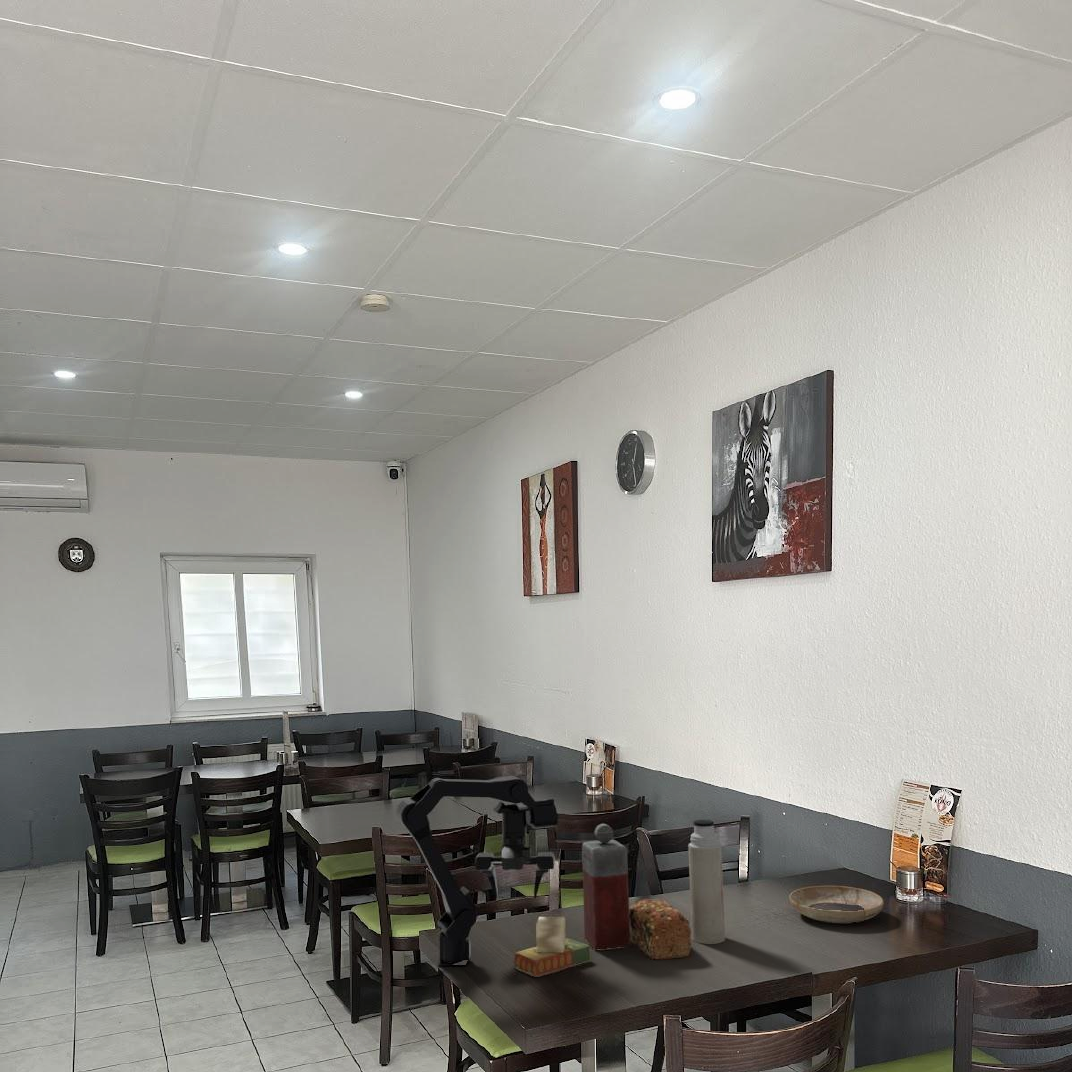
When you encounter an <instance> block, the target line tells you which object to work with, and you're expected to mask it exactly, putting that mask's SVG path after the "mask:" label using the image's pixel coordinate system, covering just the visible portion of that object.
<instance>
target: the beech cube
mask: <svg viewBox="0 0 1072 1072" xmlns="http://www.w3.org/2000/svg"><path fill="white" fill-rule="evenodd" d="M535 936H536V938H535V939H536V946H537V952H554V953H563V952H564V949H565V945H566V938H567V937H566V936H567V935H566V916H539V917H538V919H537V921H536V923H535Z"/></svg>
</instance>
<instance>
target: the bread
mask: <svg viewBox="0 0 1072 1072" xmlns="http://www.w3.org/2000/svg"><path fill="white" fill-rule="evenodd" d="M629 922H630V938H631V939H630V941H632V942H633V943H634V945H635V946H637V947H638V948H639V949H640V950H641V951H642V950H643V953H644V954H645V955H646V956H647V955H648V956H649V957H648V956H647V957H648V958H650V959H653V960H668V959H680V958H681V959H682V958H687V957H688V956H689V955H690V951H691V950H690V949H691V947H692V943H691V942H692V927H690V920H689V919H688V918H687V916H686V915H685V914H683V913H682V912H681V911H680V910H678V909H677V908H676V907H674V906H673V905H671V904H670V903H668V902H666V901H665V900H663V899H654V898H651V899H649V898H648V899H647V898H644V899H640V900H639V899H638V900H636V901H635V902H634V903H632V905H629Z"/></svg>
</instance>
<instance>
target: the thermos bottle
mask: <svg viewBox="0 0 1072 1072" xmlns="http://www.w3.org/2000/svg"><path fill="white" fill-rule="evenodd" d="M693 825H694V827H693V831H694V832H692V833H691V835H690V843H688V866H689V867H688V869H689V871H688V872H689V893H690V895H689V896H690V919H691V920H690V921H691V940H693V941H694V942H696V943H699V944H704V945H705V944H706V945H716V944H720V943H723V942H725V941H726V928H725V927H726V926H725V925H726V923H725V903H724V902H725V901H724V880H723V879H724V876H723V857H722V855H723V854H722V853H723V851H722V844H721V843H719V839H720V838H719V834H717V833H716V832H715V827H714V821H713V820H710V819H696V820H694V821H693Z"/></svg>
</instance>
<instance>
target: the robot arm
mask: <svg viewBox="0 0 1072 1072" xmlns="http://www.w3.org/2000/svg"><path fill="white" fill-rule="evenodd" d="M445 797H446V798H447V797H453V798H454V797H455V798H456V797H457V798H462V797H463V798H491V799H494V800H498V801H499V802H498V804H497V805H496V806H495V807H493V812H494V813H496V814H499V815H500V814H501V817H502V818H501V820H502V825H501V827H502V846H501V850H500V851H501V852H500V853H501V856H494V855H495V854H494V852H479V853H478V854H477V855H476V857H475V858H474V870H477V871H480V873H481V874H484V875H485V876H486V877H487V879H488V882H489V884H490V886H491V889H492V892H493V896H494V898H495V899H498V897H499V896H498V894H499V893H498V892H499V891H498V881H497V871H496V866H501V867H502V869H503V870H504V871H508V870H516V871H519V870H522V869H523V868H524V866H526V865H527V866H528V865H529V866H530V865H531V866H533V865H534V866H536V870H535V879H534V888H533V889H534V890H533V899H537V895H538V892H539V891H538V890H539V887H540V884H541V881H542V878H543V876H544V874H547V873H549V871H550V870H554V868H555V865H556V861H555V860H556V859H555V853H554V852H552V851H540V852H539V851H538V852H537V855H536V856H532V848H531V846H527V825H528V826H530V827H531V829H533V830H535V829H536V830H537V829H546V828H556V827H557V826H558V823H559V814H558V811H557V807H556V805H555V799H553V798H552V797H548V798H547V797H546V798H542V799H534V798H533V797H532V795H531V794H530V793H529V787H528V784H527V783H526V781H525V780H523V779H522V778H519V777H516V776H514V775H506V776H499V777H495V778H492V779H486V780H485V779H455V778H454V779H453V778H451V779H450V778H440V777H435V778H433V779H431V780H430V781H429V782H428V783H427V784H426V785H425V786H424V787H422V788H420V789H418V791H417V792H414V794H413V795H412V796H411V797H409V798H407V799H404V800H402V801H401V802H400V803H399V804H398V805H397V808H396V811H395V812H396V817H397V820H398V821H399V822H400V823H401V825H402V826H403V827H404V828H405V830H406V831H407V833H408V834H409V835H410V836H411V837H412V839H414V841H415V843H416V845H417V847H418V849H419V850H420V853H421V855H422V857H423V859H424V861H425V862H426V864H427V867H428V869H429V870H430V872H431V874H432V877H433V878H434V880H435V882H436V884H437V886H438V888H439V890H440V893H441V897H442V902H443V905H444V908H445V912H444V913H443V914H442V915H441V916H440V918H439V919H438V920H437V921H436V922H437V926H438V928H439V930H440V931H441V932H440V933H439V937H438V939H439V959H438V960H439V961H438V964H437V966H438V967H454V966H453V964H455V963H458V962H461V961H463V960H469V959H471V958H472V954H471V951H472V949H471V948H472V946H471V941H472V940H471V938H469V936H470V933H471V929H472V927H473V926H475V923H476V922H477V918H478V912H477V910H476V909H478V908H479V906H478V905H477V904H475V902H474V899H473V897H472V893H471V892H470V891H469V890H468V889H467V888H466V887H465V886H461V887H459V886H458V884H457V882H456V880H455V879H454V876H453V874H452V873H451V871H450V868H449V866H448V865H447V863H446V861H445V858H444V857H443V855H442V853H441V851H440V849H439V846H438V845H437V843H436V841H435V839H434V837H433V835H432V831H431V825H430V821H429V818H428V815H429V814H430V813H431V812H432V811H433V810H434V808H435V807H436V806H437V804H438V803H439V802H440V801H441V800H442V799H443V798H445ZM504 802H507V803H508V804H505V803H504ZM509 803H511V804H509ZM518 804H521V805H524V806H518ZM469 961H470V960H469Z"/></svg>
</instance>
